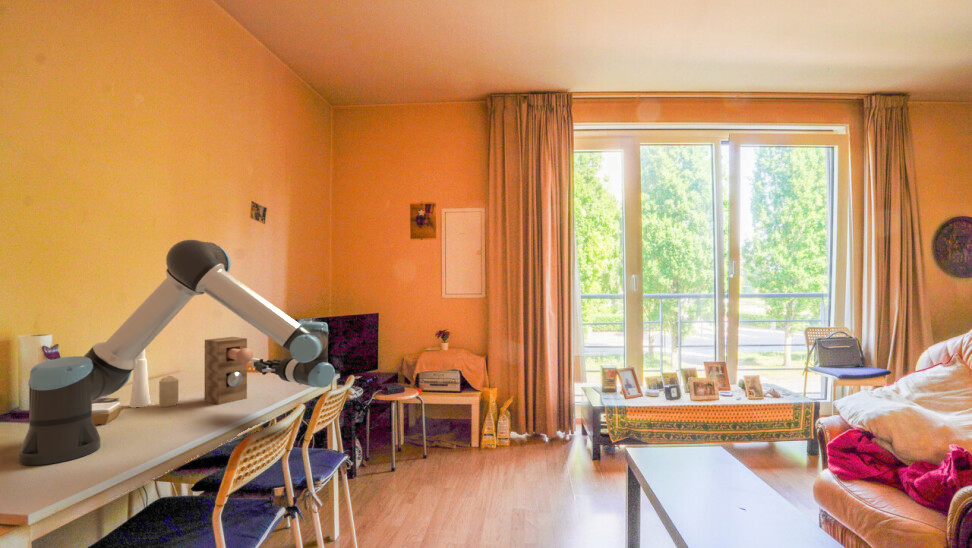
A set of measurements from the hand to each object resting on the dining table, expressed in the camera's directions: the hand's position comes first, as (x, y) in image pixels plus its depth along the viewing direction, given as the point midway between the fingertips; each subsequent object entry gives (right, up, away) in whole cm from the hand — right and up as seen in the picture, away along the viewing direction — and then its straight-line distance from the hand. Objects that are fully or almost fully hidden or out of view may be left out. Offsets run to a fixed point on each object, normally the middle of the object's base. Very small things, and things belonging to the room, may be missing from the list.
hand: (253, 362), depth 159 cm
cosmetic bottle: (-40, -16, +2) cm, 43 cm away
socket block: (-15, -15, +9) cm, 23 cm away
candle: (-31, -16, +2) cm, 34 cm away
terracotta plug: (-8, -1, +5) cm, 10 cm away
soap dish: (-41, -16, -17) cm, 47 cm away
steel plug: (-14, -10, +9) cm, 19 cm away
